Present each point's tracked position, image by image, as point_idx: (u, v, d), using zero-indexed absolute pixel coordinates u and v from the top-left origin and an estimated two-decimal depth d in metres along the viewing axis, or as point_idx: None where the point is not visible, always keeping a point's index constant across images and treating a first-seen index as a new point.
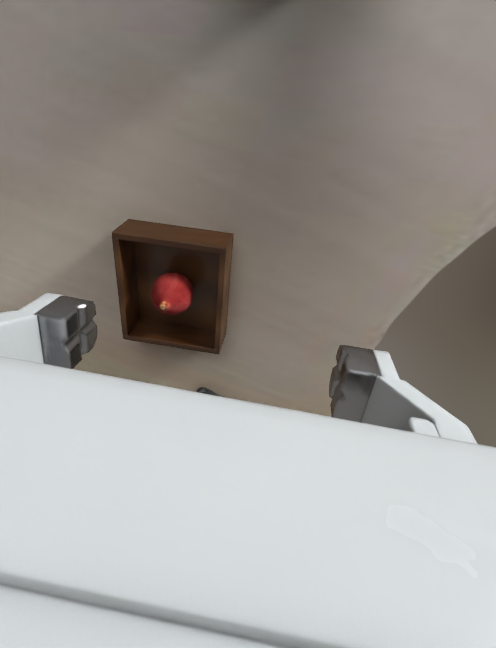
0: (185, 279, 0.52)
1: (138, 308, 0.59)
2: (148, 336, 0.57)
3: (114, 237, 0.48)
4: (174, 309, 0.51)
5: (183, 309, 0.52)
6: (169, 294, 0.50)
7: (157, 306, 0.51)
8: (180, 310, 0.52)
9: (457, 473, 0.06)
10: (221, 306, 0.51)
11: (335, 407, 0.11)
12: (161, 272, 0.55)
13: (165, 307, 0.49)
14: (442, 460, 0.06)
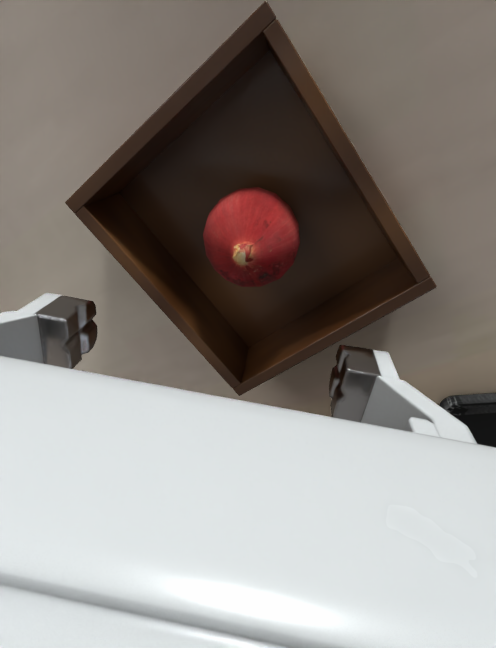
0: None
1: (233, 331, 0.30)
2: (275, 359, 0.26)
3: (75, 208, 0.22)
4: (270, 250, 0.20)
5: (290, 242, 0.21)
6: (236, 225, 0.20)
7: (234, 271, 0.21)
8: (285, 246, 0.21)
9: (457, 473, 0.06)
10: (361, 164, 0.19)
11: (335, 407, 0.11)
12: None
13: (244, 251, 0.19)
14: (442, 460, 0.06)
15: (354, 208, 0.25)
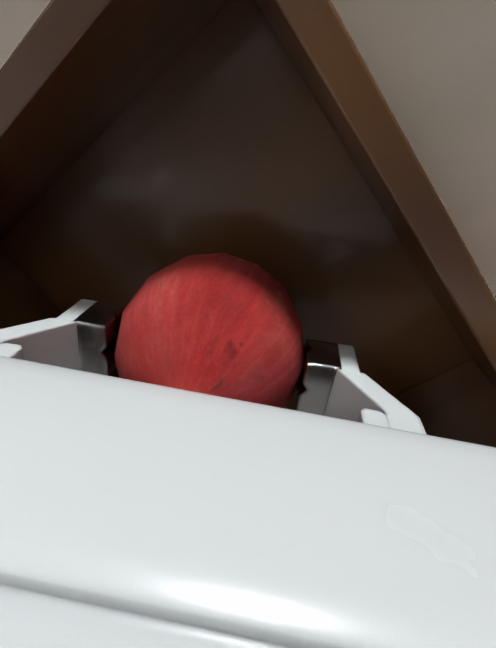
0: (210, 256, 0.11)
1: None
2: None
3: None
4: None
5: (284, 375, 0.10)
6: (165, 352, 0.09)
7: None
8: (273, 388, 0.10)
9: (457, 473, 0.06)
10: (446, 223, 0.08)
11: (298, 400, 0.11)
12: None
13: None
14: (442, 460, 0.06)
15: (400, 279, 0.14)
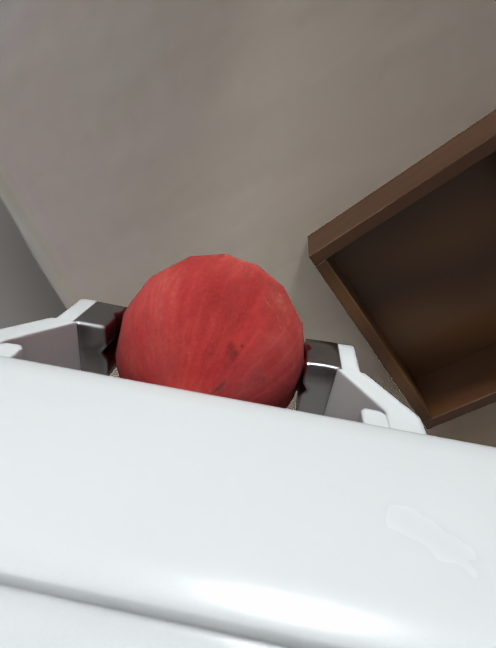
0: (211, 257, 0.11)
1: (405, 366, 0.32)
2: (468, 397, 0.28)
3: (318, 261, 0.24)
4: None
5: (285, 376, 0.10)
6: (166, 354, 0.09)
7: None
8: (274, 390, 0.10)
9: (457, 473, 0.06)
10: None
11: (298, 400, 0.11)
12: (409, 279, 0.29)
13: None
14: (442, 460, 0.06)
15: None
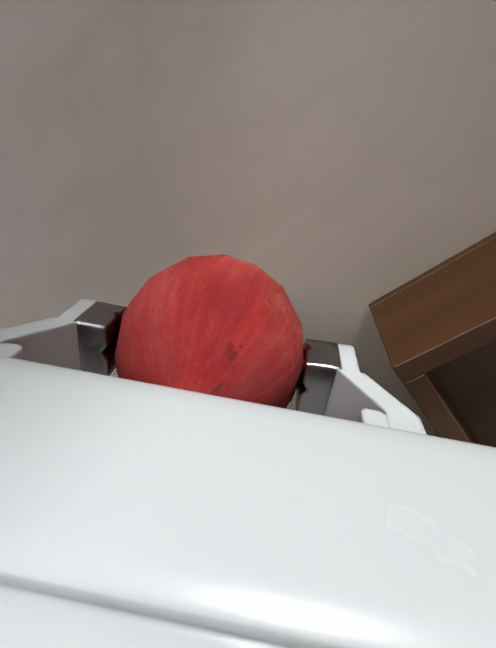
0: (210, 258, 0.11)
1: None
2: None
3: (410, 376, 0.13)
4: None
5: (284, 377, 0.10)
6: (165, 354, 0.09)
7: None
8: (273, 390, 0.10)
9: (457, 473, 0.06)
10: None
11: (298, 400, 0.11)
12: None
13: None
14: (442, 460, 0.06)
15: None
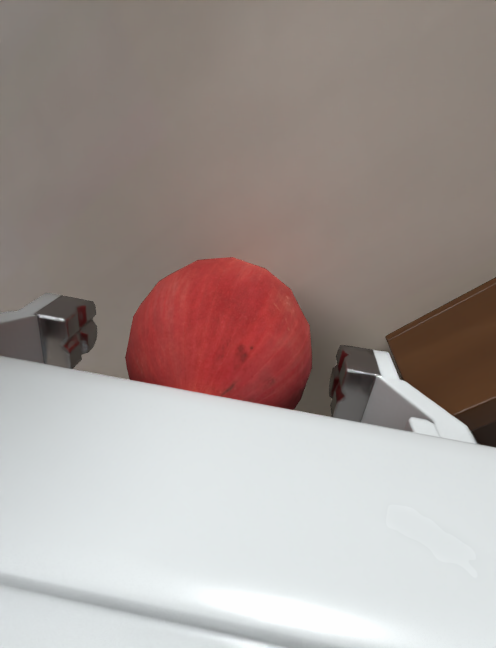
0: (219, 261, 0.11)
1: None
2: None
3: None
4: None
5: (294, 378, 0.10)
6: (177, 356, 0.09)
7: None
8: (283, 391, 0.10)
9: (457, 473, 0.06)
10: None
11: (335, 407, 0.11)
12: None
13: None
14: (442, 460, 0.06)
15: None
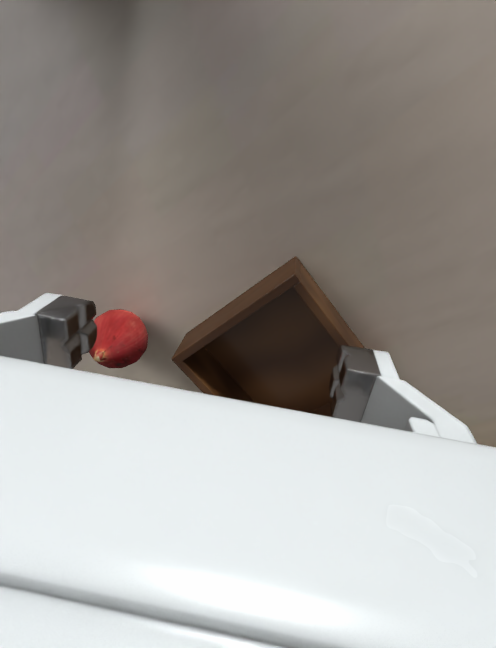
0: (114, 311, 0.38)
1: None
2: None
3: (177, 362, 0.37)
4: (117, 352, 0.36)
5: (132, 345, 0.37)
6: (97, 338, 0.36)
7: (100, 363, 0.36)
8: (128, 348, 0.36)
9: (457, 473, 0.06)
10: None
11: (335, 407, 0.11)
12: (258, 361, 0.41)
13: (98, 356, 0.35)
14: (442, 460, 0.06)
15: None
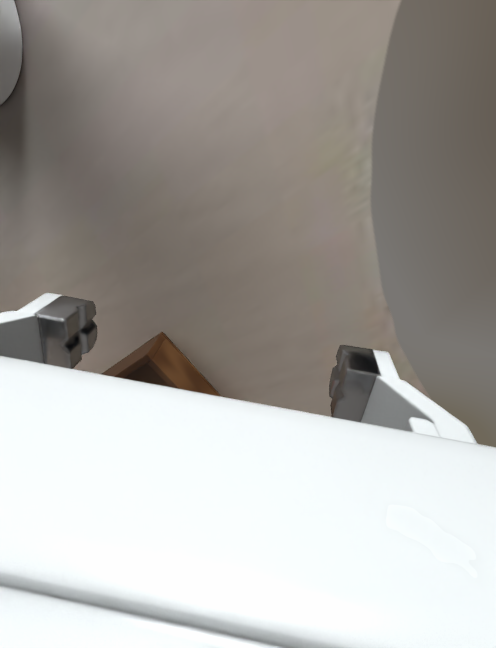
0: None
1: None
2: None
3: None
4: None
5: None
6: None
7: None
8: None
9: (457, 473, 0.06)
10: None
11: (335, 407, 0.11)
12: None
13: None
14: (442, 460, 0.06)
15: None
